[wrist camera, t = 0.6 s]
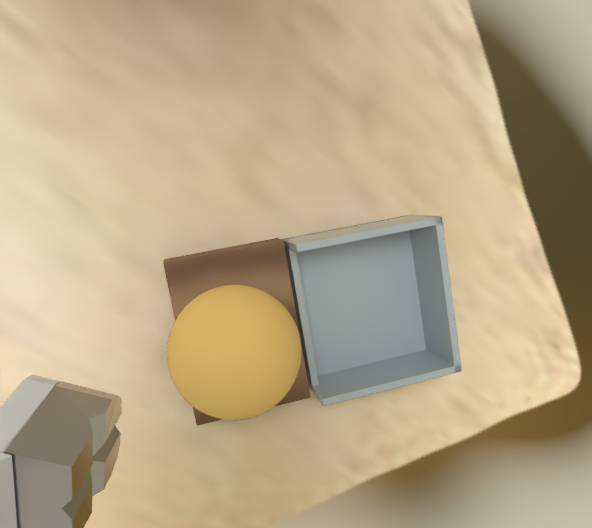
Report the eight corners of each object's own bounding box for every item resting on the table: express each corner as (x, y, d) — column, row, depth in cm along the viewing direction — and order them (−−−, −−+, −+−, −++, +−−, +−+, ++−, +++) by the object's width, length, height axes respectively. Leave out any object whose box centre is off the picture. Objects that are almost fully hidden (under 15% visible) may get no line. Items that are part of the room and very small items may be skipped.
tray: (281, 239, 51) (296, 244, 45) (411, 214, 53) (441, 216, 47) (306, 383, 53) (323, 406, 47) (430, 353, 55) (461, 371, 49)
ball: (156, 289, 46) (152, 314, 36) (276, 266, 48) (303, 282, 38) (180, 406, 47) (183, 459, 38) (295, 378, 49) (326, 422, 40)
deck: (163, 259, 49) (163, 263, 46) (276, 238, 51) (283, 240, 48) (195, 412, 51) (196, 425, 48) (302, 386, 53) (310, 397, 50)
